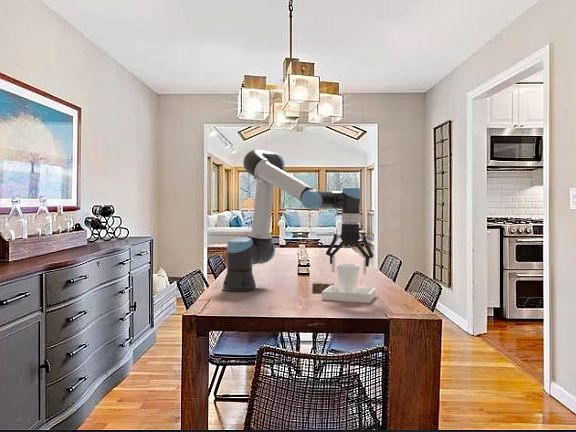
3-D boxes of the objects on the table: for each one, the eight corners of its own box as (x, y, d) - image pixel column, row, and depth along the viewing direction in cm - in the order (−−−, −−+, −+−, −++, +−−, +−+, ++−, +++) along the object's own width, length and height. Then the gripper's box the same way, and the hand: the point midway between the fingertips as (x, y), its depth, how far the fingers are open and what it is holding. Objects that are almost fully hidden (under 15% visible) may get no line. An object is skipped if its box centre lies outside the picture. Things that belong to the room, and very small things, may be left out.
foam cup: (357, 297, 216) (358, 266, 215) (335, 296, 217) (336, 266, 217) (359, 293, 225) (359, 264, 225) (338, 292, 227) (338, 263, 226)
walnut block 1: (312, 292, 234) (312, 283, 234) (313, 290, 238) (313, 282, 238) (321, 292, 234) (321, 283, 233) (321, 291, 238) (321, 282, 237)
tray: (322, 299, 217) (322, 291, 216) (331, 293, 232) (331, 285, 232) (369, 303, 210) (369, 294, 210) (375, 296, 225) (375, 288, 225)
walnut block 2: (321, 292, 234) (321, 283, 234) (326, 291, 237) (326, 282, 237) (329, 293, 231) (329, 284, 231) (333, 292, 235) (333, 283, 235)
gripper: (319, 222, 220) (318, 271, 221) (378, 225, 213) (376, 276, 213) (324, 221, 227) (322, 269, 228) (381, 224, 220) (379, 273, 221)
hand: (348, 273), depth 221 cm, fingers open, 13 cm apart
